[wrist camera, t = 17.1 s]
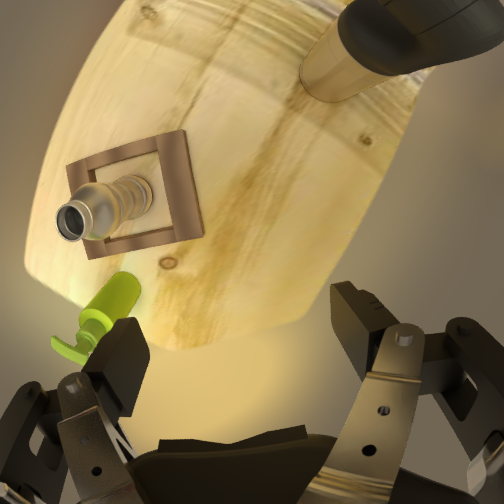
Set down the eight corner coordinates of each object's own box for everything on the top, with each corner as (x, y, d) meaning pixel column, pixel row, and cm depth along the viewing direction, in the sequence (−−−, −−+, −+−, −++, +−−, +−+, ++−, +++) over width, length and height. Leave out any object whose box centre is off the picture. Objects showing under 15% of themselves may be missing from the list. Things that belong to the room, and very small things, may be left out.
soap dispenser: (109, 264, 44) (49, 325, 25) (144, 279, 45) (99, 351, 26) (103, 292, 45) (49, 359, 26) (136, 307, 47) (96, 383, 28)
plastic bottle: (141, 223, 42) (82, 270, 23) (109, 199, 41) (36, 230, 22) (163, 190, 41) (111, 216, 22) (130, 165, 39) (60, 174, 20)
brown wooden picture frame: (185, 131, 38) (182, 129, 36) (204, 232, 44) (203, 237, 41) (73, 164, 38) (65, 165, 36) (94, 255, 43) (88, 260, 41)
